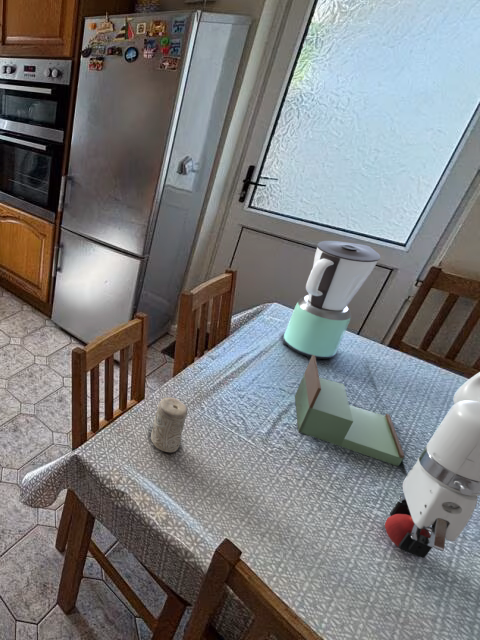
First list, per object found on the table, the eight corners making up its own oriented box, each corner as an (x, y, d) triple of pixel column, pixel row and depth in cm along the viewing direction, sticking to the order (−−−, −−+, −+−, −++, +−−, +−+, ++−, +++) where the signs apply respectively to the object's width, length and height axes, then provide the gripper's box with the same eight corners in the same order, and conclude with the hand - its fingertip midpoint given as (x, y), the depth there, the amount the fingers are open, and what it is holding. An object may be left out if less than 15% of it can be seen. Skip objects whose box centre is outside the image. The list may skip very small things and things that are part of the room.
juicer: (302, 331, 137) (341, 234, 122) (348, 355, 126) (397, 251, 111) (262, 344, 131) (298, 244, 116) (306, 370, 120) (352, 263, 105)
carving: (179, 437, 99) (190, 399, 94) (177, 461, 93) (188, 422, 88) (151, 427, 102) (160, 390, 97) (147, 450, 96) (156, 412, 91)
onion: (429, 556, 75) (450, 529, 71) (407, 566, 73) (428, 539, 70) (391, 525, 80) (409, 498, 76) (370, 534, 78) (387, 507, 75)
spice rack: (384, 424, 102) (408, 380, 96) (398, 466, 91) (427, 420, 85) (294, 396, 111) (312, 354, 105) (298, 431, 100) (318, 387, 94)
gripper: (511, 526, 59) (450, 595, 67) (466, 442, 72) (420, 507, 80) (438, 499, 63) (388, 567, 71) (407, 424, 76) (369, 488, 84)
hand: (405, 535), depth 75 cm, fingers closed on onion, 5 cm apart
